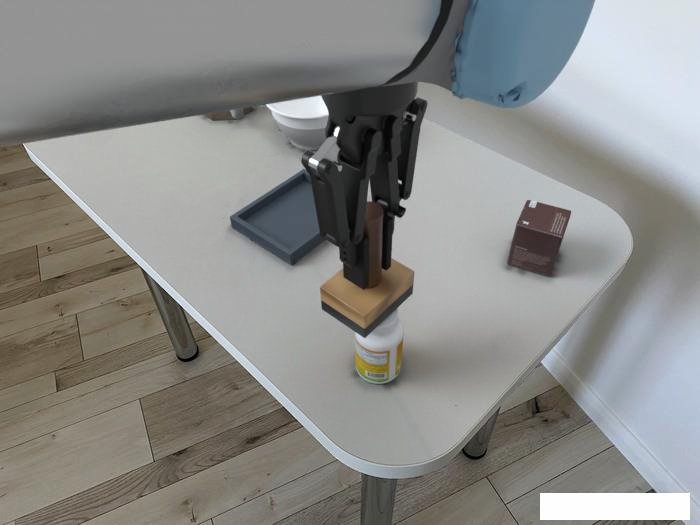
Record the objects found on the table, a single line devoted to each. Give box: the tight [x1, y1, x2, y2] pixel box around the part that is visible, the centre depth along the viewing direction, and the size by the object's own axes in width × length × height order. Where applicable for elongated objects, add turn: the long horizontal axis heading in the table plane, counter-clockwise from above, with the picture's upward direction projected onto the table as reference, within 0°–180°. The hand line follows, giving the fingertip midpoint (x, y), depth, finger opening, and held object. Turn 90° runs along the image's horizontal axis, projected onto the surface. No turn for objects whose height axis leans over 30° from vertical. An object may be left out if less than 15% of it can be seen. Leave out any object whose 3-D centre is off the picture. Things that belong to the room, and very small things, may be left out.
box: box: [506, 199, 572, 277], centre depth 77 cm, size 6×6×7 cm
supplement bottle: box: [354, 308, 405, 385], centre depth 64 cm, size 5×5×10 cm
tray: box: [229, 168, 326, 266], centre depth 86 cm, size 16×13×2 cm
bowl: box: [265, 96, 329, 151], centre depth 100 cm, size 16×16×9 cm
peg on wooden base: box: [319, 200, 415, 338], centre depth 57 cm, size 8×6×12 cm
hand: (367, 271), depth 58 cm, fingers closed on peg on wooden base, 3 cm apart
